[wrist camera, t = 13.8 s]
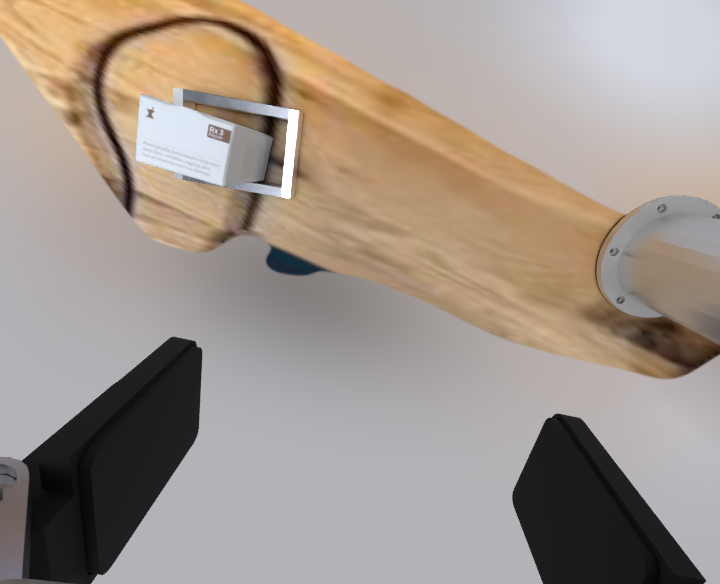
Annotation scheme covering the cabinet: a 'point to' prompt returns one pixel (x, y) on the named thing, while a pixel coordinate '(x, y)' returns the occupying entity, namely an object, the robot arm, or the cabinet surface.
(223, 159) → the skincare box
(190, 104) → the socket collar
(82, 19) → the cabinet surface
